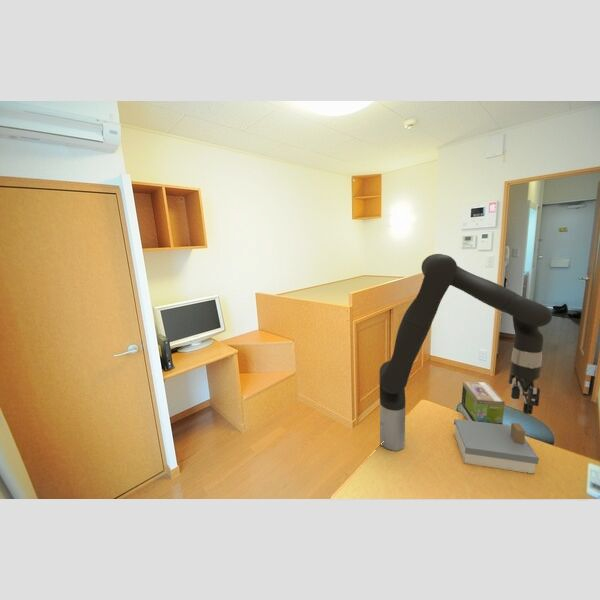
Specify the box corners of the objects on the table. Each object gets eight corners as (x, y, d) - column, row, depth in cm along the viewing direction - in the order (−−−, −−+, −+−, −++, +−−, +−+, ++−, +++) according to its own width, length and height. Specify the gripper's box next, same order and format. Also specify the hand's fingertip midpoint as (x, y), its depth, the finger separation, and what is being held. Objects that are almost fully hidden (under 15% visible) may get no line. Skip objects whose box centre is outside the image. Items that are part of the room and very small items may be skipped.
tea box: (502, 434, 105) (506, 401, 102) (474, 432, 107) (476, 399, 104) (484, 411, 119) (487, 381, 116) (460, 409, 121) (462, 380, 118)
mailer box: (464, 463, 93) (466, 448, 92) (454, 435, 106) (455, 422, 105) (534, 473, 87) (536, 458, 86) (514, 443, 100) (515, 429, 99)
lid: (465, 453, 92) (466, 434, 90) (454, 424, 106) (455, 407, 105) (537, 464, 86) (540, 444, 84) (515, 431, 100) (517, 414, 98)
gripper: (503, 352, 95) (499, 393, 98) (523, 370, 81) (517, 417, 85) (528, 353, 92) (523, 395, 96) (553, 372, 79) (546, 420, 83)
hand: (521, 405), depth 90 cm, fingers open, 8 cm apart
